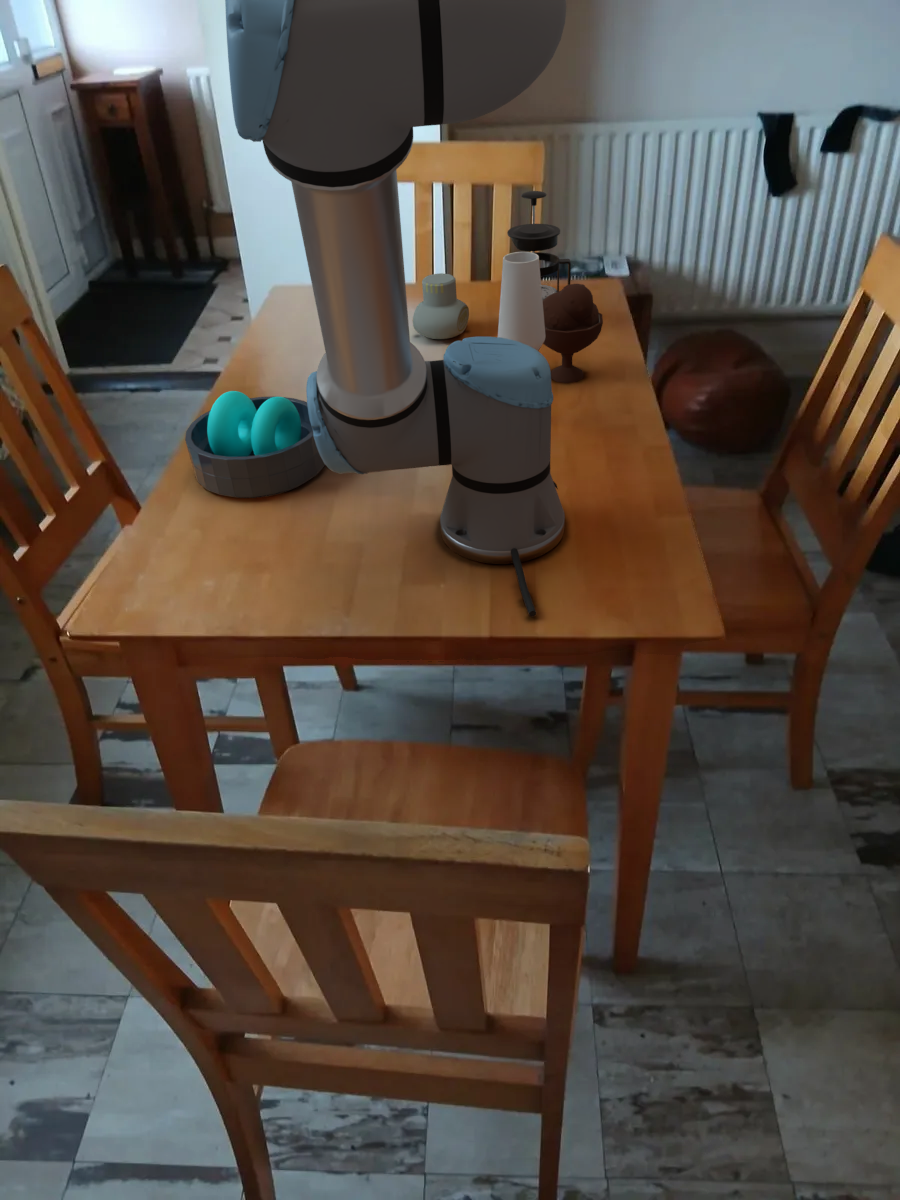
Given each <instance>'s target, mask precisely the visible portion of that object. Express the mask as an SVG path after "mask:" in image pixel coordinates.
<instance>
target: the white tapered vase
mask: <svg viewBox="0 0 900 1200" xmlns="http://www.w3.org/2000/svg"><path fill="white" fill-rule="evenodd" d="M531 252H532V251H515V252H510V253H507V254H505V255H503V257H502V267H501V268H502V269H501V281H500V283H501V284H500V297H499V312H498V327H497V337H499V338H506V339H510V340H515V341H518V342H521V343H523V344H526V345H528V346H530V347H532V348H534V349H536V350H537V351H539V350H540V349H541V348H542V346H543V345H544V344H543V342H544V341H545V324H544V313H543V301H542V289H541V285H542V279H541V276H540V268H541V267H540V260H539V256H538V255H537V254H535V253H531Z"/></svg>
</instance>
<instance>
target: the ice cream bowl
mask: <svg viewBox="0 0 900 1200" xmlns="http://www.w3.org/2000/svg"><path fill="white" fill-rule="evenodd" d="M593 296H594V295H593V293H592V292H591V289H589V288H588V287H586V285H585V284H582V283H570V284H569V285H568V284H567V285H565V286H563V288H562V289H561V290H559V292H556V293H553V294H551V295H549V296H547V297H546V298H545V299H544V300H543V313H544V324H545V341H544V342H543V344H542V345H544V346H545V347H547V348H548V349H550V350H552V351H554V352H556V353H557V354H560V355H561V365H559V366H557V367H555V368H553V369H551V370H550V371H551V380H553V381H554V382H557V383H563V384H570V383H575V382H576V383H577V382H579V381H580V380H582V379H584V371H583V369H581V368H579V367H578V366H575V365H573V357H574V354H576V353H579V352H581V351H583V350H584V349H586V348H587V347H589V346H591V345H592V344H593V343H594V342H595V341H596V340H597V339H598V337H599V336H600V334H601V332H602V328H603V324H604V318H603V314H602V313H600V311H599V309H598V306H597V305H596V304H595V302H594V297H593Z"/></svg>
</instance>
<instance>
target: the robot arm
mask: <svg viewBox="0 0 900 1200" xmlns="http://www.w3.org/2000/svg"><path fill="white" fill-rule="evenodd" d="M224 2H225V3H224V4H225V7H224V8H225V28H226V29H225V30H226V44H227V45H226V46H227V60H228V72H229V73H228V74H229V84H230V85H229V86H230V94H231V96H230V97H231V103H232V104H231V105H232V112H233V118H234V119H233V120H234V126H235V129H236V131H237V134H238V136H239V137H240V138H241V139H243V140H246V141H247V140H248V141H249V140H250V141H252V143H257V142H259V143H261V142H262V145H263V149H264V153H265V156H266V158H267V160H268V162H269V164H270V165H271V167H272V168H273V170H274V171H276V173H278V174H279V175H280V176H282V177H283V178H284V179H286V180H288V181H289V182H291V183H290V184H291V187H292V191H293V198H294V202H295V208H296V213H297V217H298V223H299V227H300V231H301V237H302V242H303V247H304V253H305V256H306V262H307V268H308V272H309V276H310V282H311V287H312V292H313V296H314V302H315V306H316V311H317V316H318V321H319V326H320V331H321V337H322V340H323V346H324V350H325V353H324V354H323V356H322V357H321V359H320V361H319V363H318V365H317V369H316V371H312V372H311V373H310V374H309V376H308V377H307V381H306V387H305V388H306V391H305V392H306V393H305V394H306V402H307V406H308V413H309V419H310V423H311V426H312V429H313V436H314V440H315V443H316V446H317V449H318V452H319V454H320V456H321V458H322V460H323V462H324V463H325V466H326V467H327V468H328V469H329V470H330V471H331V472H333V473H336V474H358V475H367V474H369V473H379V472H386V471H387V472H389V471H398V470H409V469H419V468H429V467H441V466H451V480H450V483H449V486H448V489H447V493H446V496H445V499H444V503H443V507H442V509H441V512H440V517H439V520H440V534H441V538H442V540H443V542H444V544H445V545H446V546H447V547H448V548H449V549H450V550H451V551H453V552H454V553H455V554H457V555H459V556H460V557H463V558H465V559H468V560H471V561H475V562H479V563H486V564H494V565H506V564H507V565H509V564H513V567H514V571H515V575H516V579H517V582H518V587H519V590H520V593H521V596H522V599H523V602H524V605H525V607H526V610H527V614H528V616H529V617H531V618H534V617H536V616H537V611H536V608H535V605H534V602H533V599H532V596H531V593H530V590H529V587H528V583H527V580H526V576H525V573H524V568H523V565H522V563H523V562H527V561H530V560H534V559H537V558H539V557H541V556H543V555H545V554H547V553H549V552H551V551H552V550H553V549H554V548H555V547H557V546H558V544H559V543H560V542H561V540H562V539H563V536H564V533H565V519H566V517H565V515H566V514H565V510H564V508H563V504H562V502H561V499H560V496H559V493H558V491H557V490H559V487H558V485H557V483H556V482H555V480H554V479H553V477H552V474H551V473H552V472H551V452H552V451H551V450H552V449H551V444H552V404H553V401H554V394H553V389H552V379H551V371H552V370H551V367H550V363H549V362H548V360H547V358H546V357H545V356H544V355H543V354H542V353H541V352H540V351H539V350H538V351H537V350H536V349H534V348H532V347H530V346H528V345H526V344H523V343H521V342H518V341H515V340H510V339H506V338H499V337H498V336H470V337H464V338H462V340H455V341H453V342H451V343H450V344H449V345H448V346H447V348H446V349H445V352H444V354H443V359H438V360H425V358H424V357H423V354H422V353H421V351H420V350H419V349H418V348H417V347H416V346H415V345H414V344H413V343H412V342H411V339H410V326H409V323H410V322H409V312H408V301H407V299H408V298H407V285H406V273H405V261H404V248H403V247H404V246H403V236H402V224H401V211H400V199H399V197H400V196H399V186H398V185H399V184H398V172H397V169H398V168H400V167H401V166H402V165H403V164H404V162H405V161H406V160H407V158H408V157H409V154H410V153H411V151H412V148H413V145H414V144H413V143H414V128H417V127H430V126H431V127H432V126H442V125H451V124H459V123H463V122H467V121H471V120H474V119H478V118H480V117H482V116H485V115H487V114H490V113H492V112H495V111H497V110H498V109H500V108H502V107H504V106H505V105H507V104H508V103H510V102H512V101H513V100H514V99H516V98H517V97H519V96H520V95H521V94H522V93H523V92H524V91H526V90H527V89H528V88H530V87H531V85H532V84H533V83H534V82H535V81H536V80H537V79H538V78H540V75H541V74H542V73H543V72H544V71H545V70H546V69H547V68H548V65H549V64H550V62H551V60H552V59H553V58H554V55H555V53H556V51H557V48H558V47H559V44H560V42H561V39H562V37H563V32H564V28H565V25H566V17H567V15H566V14H567V0H224Z"/></svg>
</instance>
